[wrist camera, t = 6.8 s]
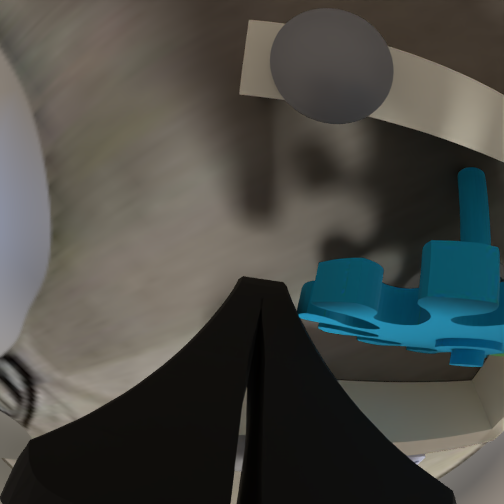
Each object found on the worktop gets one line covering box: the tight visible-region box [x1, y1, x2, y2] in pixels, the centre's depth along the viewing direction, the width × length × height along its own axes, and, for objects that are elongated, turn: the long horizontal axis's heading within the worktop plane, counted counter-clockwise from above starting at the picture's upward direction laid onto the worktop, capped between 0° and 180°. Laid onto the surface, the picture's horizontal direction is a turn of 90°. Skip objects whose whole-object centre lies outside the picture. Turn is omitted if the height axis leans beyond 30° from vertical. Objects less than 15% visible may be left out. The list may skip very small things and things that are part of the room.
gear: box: [297, 167, 504, 367], centre depth 8 cm, size 11×6×10 cm
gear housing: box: [234, 8, 504, 471], centre depth 9 cm, size 14×15×4 cm
